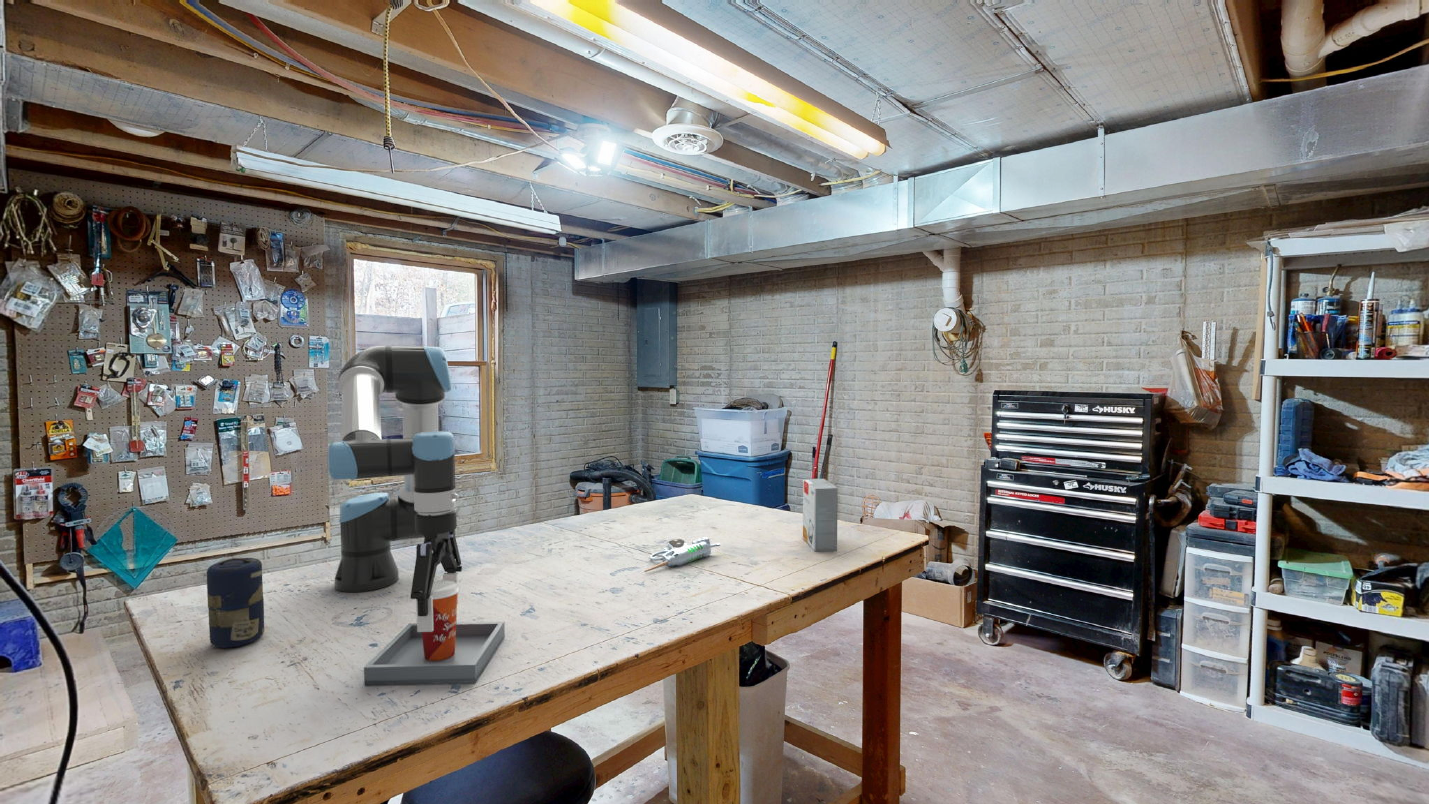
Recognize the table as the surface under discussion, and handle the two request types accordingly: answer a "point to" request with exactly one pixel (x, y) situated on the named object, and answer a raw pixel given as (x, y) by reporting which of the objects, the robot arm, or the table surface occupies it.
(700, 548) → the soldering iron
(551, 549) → the table surface
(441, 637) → the paper cup
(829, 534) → the hard drive box
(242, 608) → the canister
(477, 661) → the tray
